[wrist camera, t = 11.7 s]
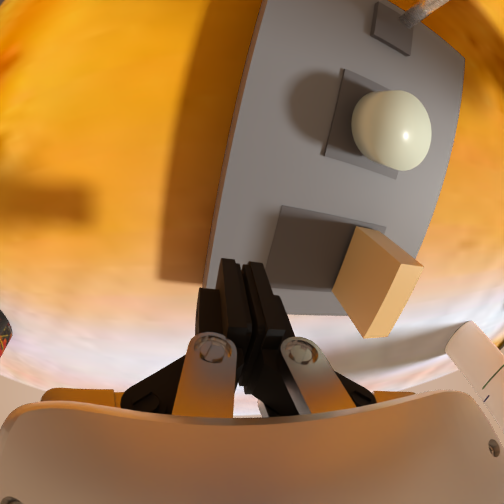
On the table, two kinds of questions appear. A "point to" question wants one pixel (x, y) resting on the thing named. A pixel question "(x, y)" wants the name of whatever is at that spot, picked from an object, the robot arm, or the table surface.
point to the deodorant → (4, 332)
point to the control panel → (327, 144)
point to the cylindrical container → (480, 366)
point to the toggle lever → (420, 12)
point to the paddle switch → (375, 282)
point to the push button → (392, 129)
